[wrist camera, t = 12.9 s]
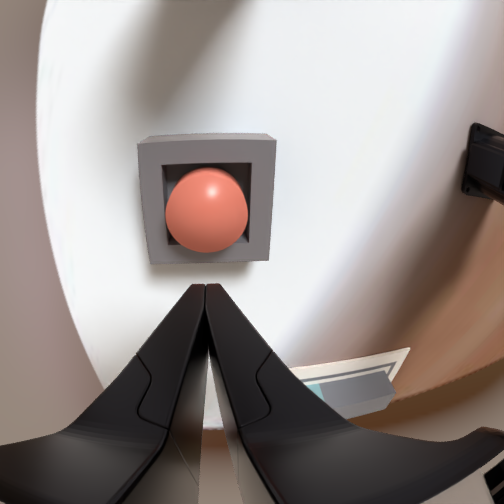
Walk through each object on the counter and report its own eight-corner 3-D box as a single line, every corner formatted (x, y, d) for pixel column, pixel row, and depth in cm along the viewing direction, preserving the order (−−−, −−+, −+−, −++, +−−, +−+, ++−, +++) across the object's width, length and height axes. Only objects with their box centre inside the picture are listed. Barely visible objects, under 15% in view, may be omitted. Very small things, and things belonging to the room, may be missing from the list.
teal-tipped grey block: (384, 370, 30) (396, 392, 27) (374, 387, 32) (385, 408, 29) (297, 386, 29) (305, 413, 26) (293, 402, 31) (299, 428, 28)
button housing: (266, 133, 16) (276, 140, 14) (261, 237, 20) (268, 260, 17) (149, 136, 16) (137, 143, 13) (158, 240, 19) (150, 264, 16)
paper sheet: (409, 346, 29) (410, 348, 29) (381, 394, 34) (382, 396, 34) (278, 369, 27) (278, 371, 27) (269, 415, 32) (270, 417, 32)
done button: (244, 166, 15) (249, 175, 13) (243, 234, 17) (246, 251, 15) (168, 167, 14) (162, 177, 13) (173, 236, 16) (169, 253, 15)
